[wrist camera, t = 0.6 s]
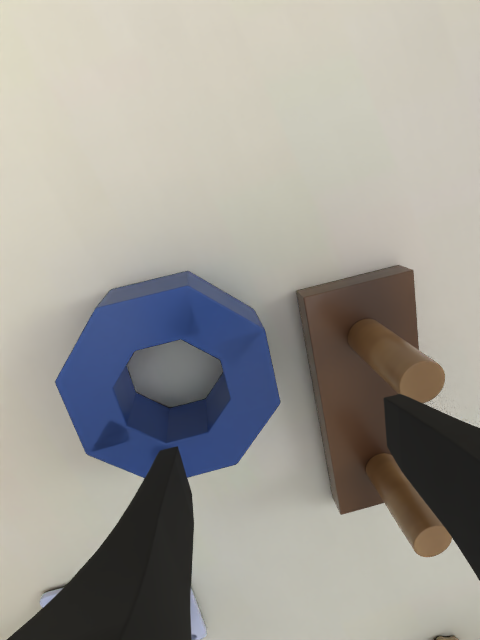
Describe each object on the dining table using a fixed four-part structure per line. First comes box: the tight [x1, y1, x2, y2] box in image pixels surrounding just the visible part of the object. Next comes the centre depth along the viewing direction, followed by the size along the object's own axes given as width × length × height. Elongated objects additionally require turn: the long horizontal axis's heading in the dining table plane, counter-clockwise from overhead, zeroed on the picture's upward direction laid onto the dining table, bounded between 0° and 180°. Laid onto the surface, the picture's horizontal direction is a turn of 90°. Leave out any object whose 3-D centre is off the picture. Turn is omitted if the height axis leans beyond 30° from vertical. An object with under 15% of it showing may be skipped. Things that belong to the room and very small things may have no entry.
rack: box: [296, 265, 452, 557], centre depth 21 cm, size 6×15×7 cm, turn 13°
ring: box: [55, 271, 280, 478], centre depth 20 cm, size 10×10×3 cm
